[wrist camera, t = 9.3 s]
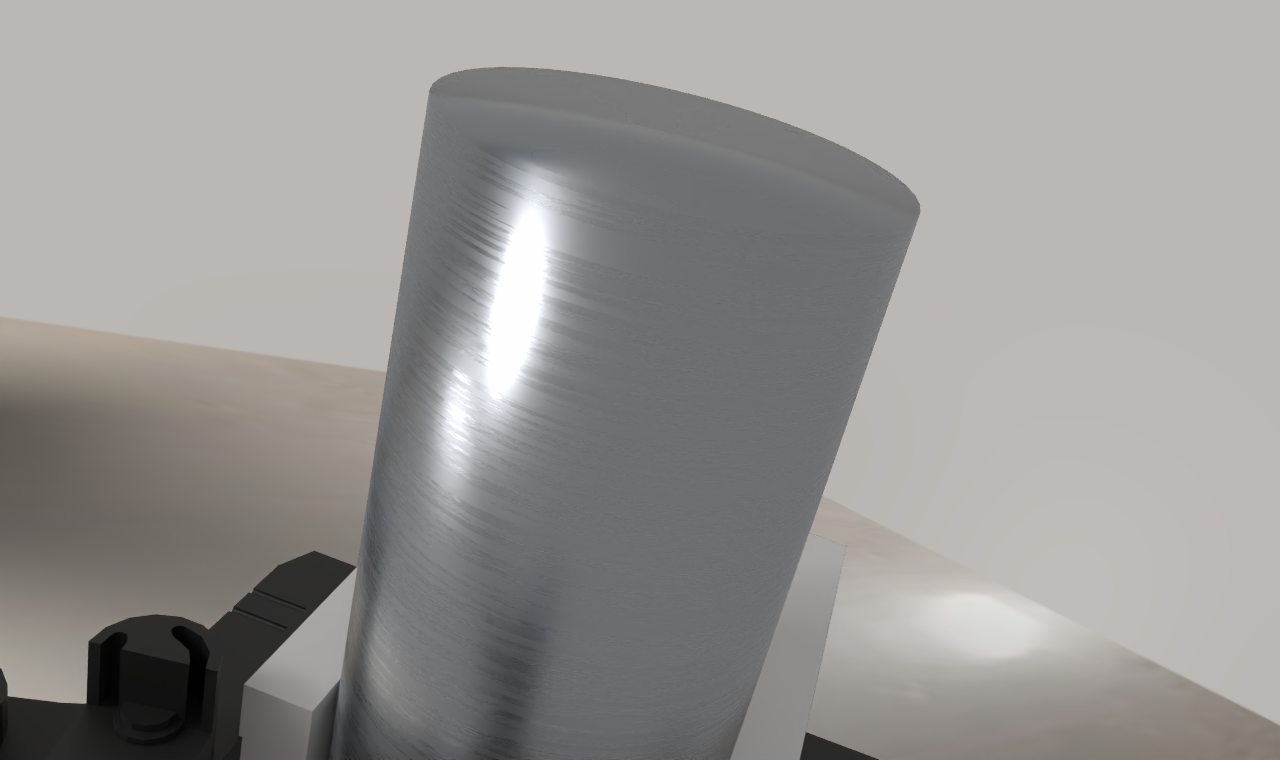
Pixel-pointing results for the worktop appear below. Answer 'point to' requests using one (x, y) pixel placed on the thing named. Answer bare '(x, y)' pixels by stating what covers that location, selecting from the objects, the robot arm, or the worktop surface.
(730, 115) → the cylinder
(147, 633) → the robot arm
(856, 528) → the worktop surface
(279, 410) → the worktop surface
